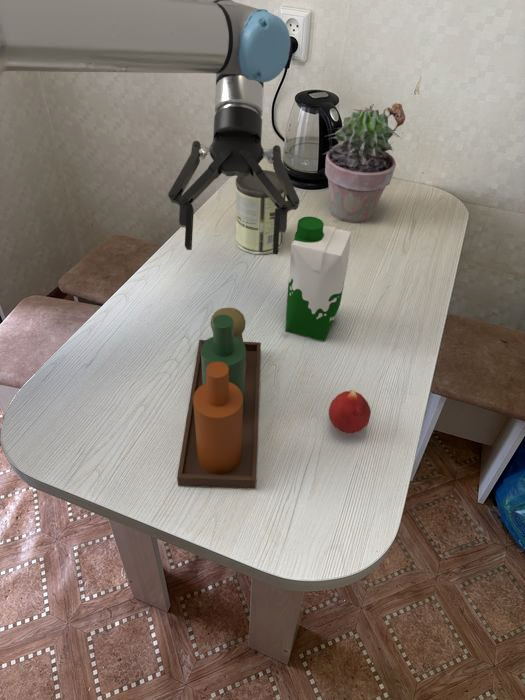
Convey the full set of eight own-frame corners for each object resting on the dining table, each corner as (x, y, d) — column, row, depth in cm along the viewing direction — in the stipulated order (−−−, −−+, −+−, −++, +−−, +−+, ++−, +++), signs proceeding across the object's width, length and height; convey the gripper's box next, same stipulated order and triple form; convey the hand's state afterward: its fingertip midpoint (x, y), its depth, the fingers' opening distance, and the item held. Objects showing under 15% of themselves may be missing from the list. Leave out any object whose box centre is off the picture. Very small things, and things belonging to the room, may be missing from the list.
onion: (368, 419, 76) (378, 383, 70) (361, 449, 72) (372, 413, 66) (330, 409, 77) (338, 372, 71) (321, 438, 73) (329, 402, 67)
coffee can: (249, 225, 115) (251, 165, 105) (290, 238, 112) (295, 177, 102) (226, 246, 108) (226, 183, 99) (268, 260, 105) (272, 197, 95)
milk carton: (293, 304, 95) (303, 207, 81) (340, 316, 93) (359, 218, 79) (278, 333, 89) (287, 233, 75) (328, 346, 87) (347, 246, 73)
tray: (178, 486, 66) (176, 477, 65) (199, 348, 85) (199, 339, 84) (255, 489, 66) (256, 480, 65) (260, 351, 85) (260, 342, 84)
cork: (225, 386, 78) (225, 333, 71) (201, 365, 81) (198, 312, 74) (254, 368, 81) (257, 316, 74) (230, 348, 85) (230, 296, 77)
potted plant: (294, 201, 124) (304, 93, 107) (363, 190, 130) (383, 85, 113) (329, 238, 112) (347, 123, 95) (402, 224, 118) (431, 113, 101)
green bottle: (202, 422, 73) (196, 335, 61) (206, 391, 77) (201, 304, 66) (243, 424, 73) (245, 338, 61) (245, 393, 78) (247, 307, 66)
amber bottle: (195, 473, 67) (187, 387, 55) (200, 436, 71) (194, 350, 60) (240, 475, 67) (242, 390, 55) (242, 438, 71) (244, 352, 60)
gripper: (314, 131, 83) (308, 259, 83) (163, 122, 83) (156, 251, 82) (320, 108, 76) (314, 248, 75) (154, 99, 75) (146, 240, 75)
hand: (231, 250), depth 79 cm, fingers open, 13 cm apart
